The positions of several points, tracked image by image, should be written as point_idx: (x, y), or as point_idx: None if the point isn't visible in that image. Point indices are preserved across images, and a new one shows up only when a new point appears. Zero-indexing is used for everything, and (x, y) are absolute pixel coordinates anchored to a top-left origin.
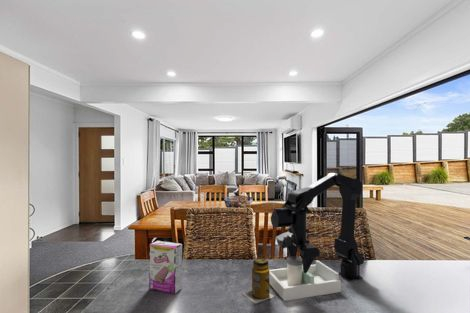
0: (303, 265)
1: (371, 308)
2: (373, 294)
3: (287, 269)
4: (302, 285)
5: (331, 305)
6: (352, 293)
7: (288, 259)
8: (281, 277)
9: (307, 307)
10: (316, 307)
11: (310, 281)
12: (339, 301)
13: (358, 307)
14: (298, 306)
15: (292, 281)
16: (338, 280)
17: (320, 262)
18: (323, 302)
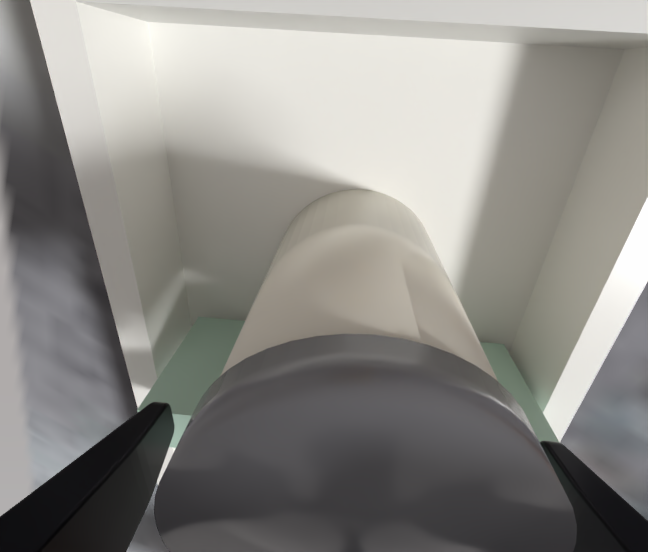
0: (41, 507)
1: (31, 469)
2: (156, 543)
3: (393, 268)
4: (109, 259)
5: (51, 333)
6: None
7: (403, 441)
8: (557, 218)
9: (13, 160)
10: (19, 229)
11: (162, 371)
12: (99, 397)
13: (36, 433)
14: (24, 88)
15: (296, 231)
16: None
17: None
18: (89, 312)
